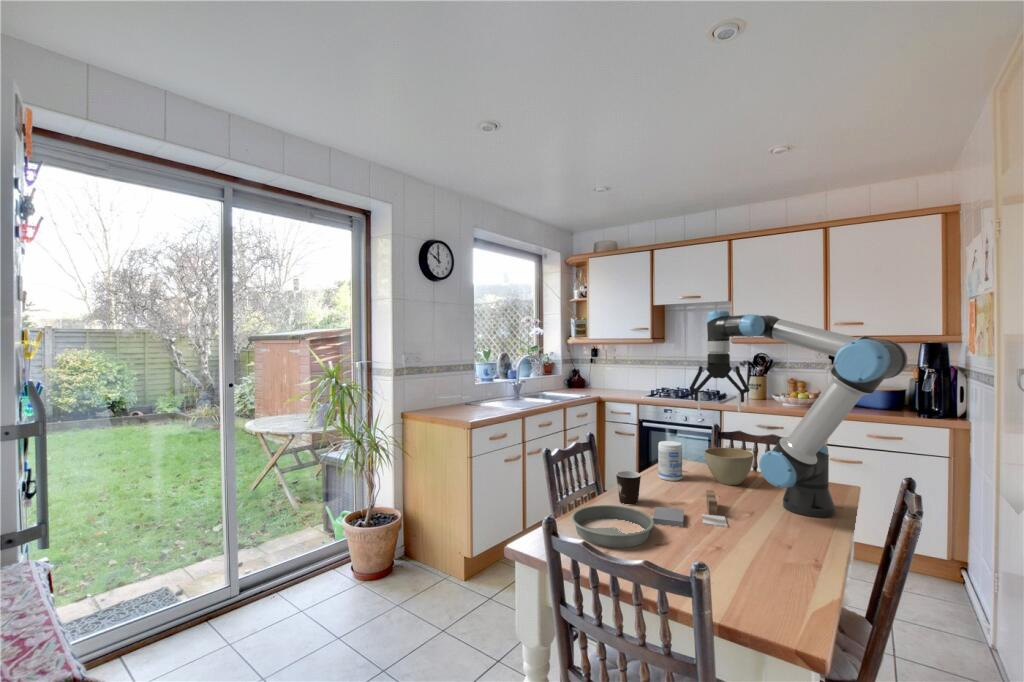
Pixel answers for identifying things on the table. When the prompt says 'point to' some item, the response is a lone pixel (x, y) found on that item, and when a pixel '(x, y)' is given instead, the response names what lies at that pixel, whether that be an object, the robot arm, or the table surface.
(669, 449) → the supplement tub
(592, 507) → the cake pan
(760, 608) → the table surface
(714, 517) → the wooden handled spatula
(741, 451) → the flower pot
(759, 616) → the table surface
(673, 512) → the standing tile
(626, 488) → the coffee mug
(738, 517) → the table surface
